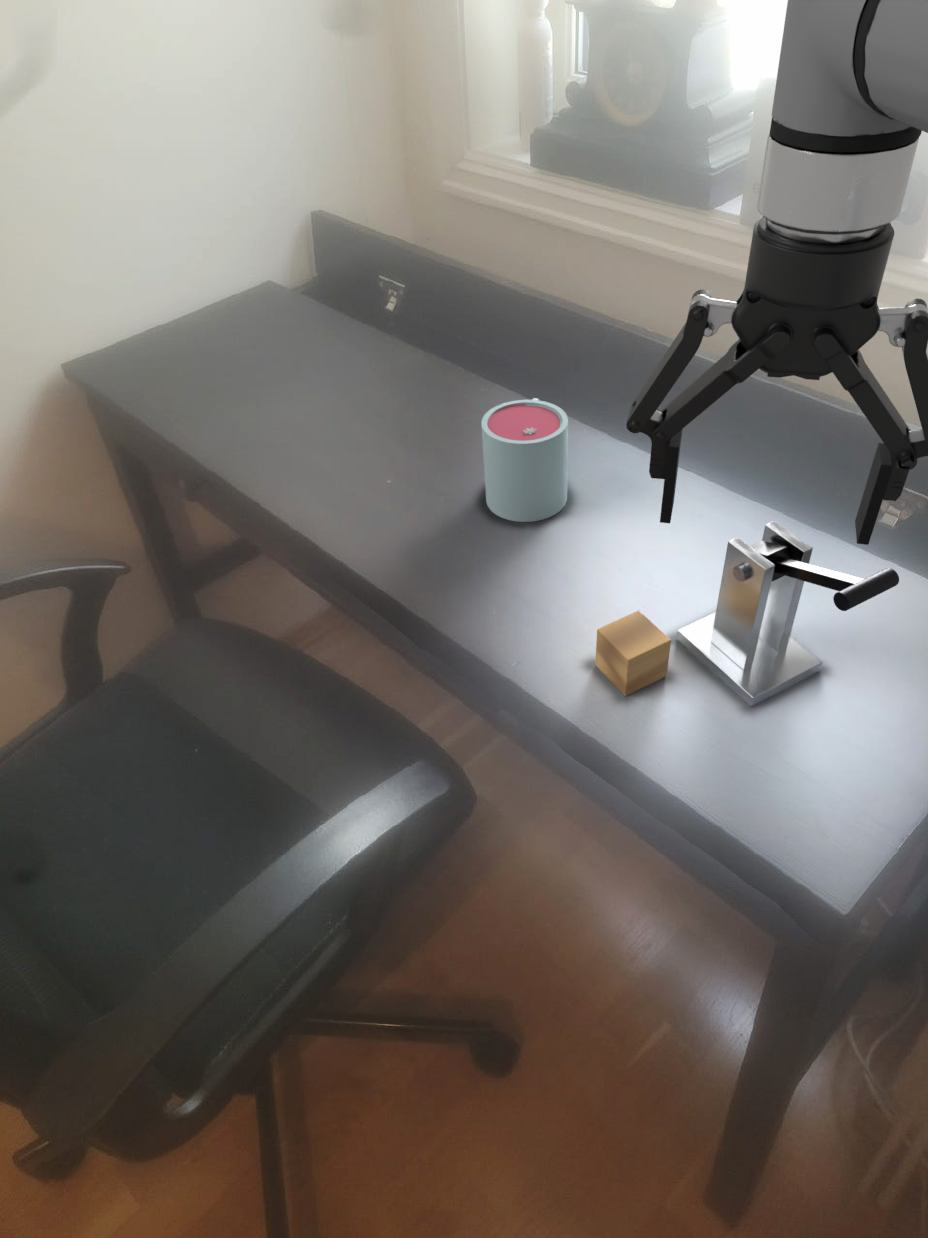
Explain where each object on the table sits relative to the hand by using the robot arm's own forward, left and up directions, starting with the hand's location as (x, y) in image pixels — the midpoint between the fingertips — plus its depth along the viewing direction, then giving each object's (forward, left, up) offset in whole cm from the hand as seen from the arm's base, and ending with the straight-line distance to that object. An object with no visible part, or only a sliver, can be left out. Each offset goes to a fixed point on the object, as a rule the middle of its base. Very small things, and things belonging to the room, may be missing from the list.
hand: (761, 522), depth 63 cm
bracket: (+3, -5, -19) cm, 19 cm away
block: (+7, +5, -19) cm, 20 cm away
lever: (-2, -5, -7) cm, 9 cm away
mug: (+37, -3, -19) cm, 41 cm away
